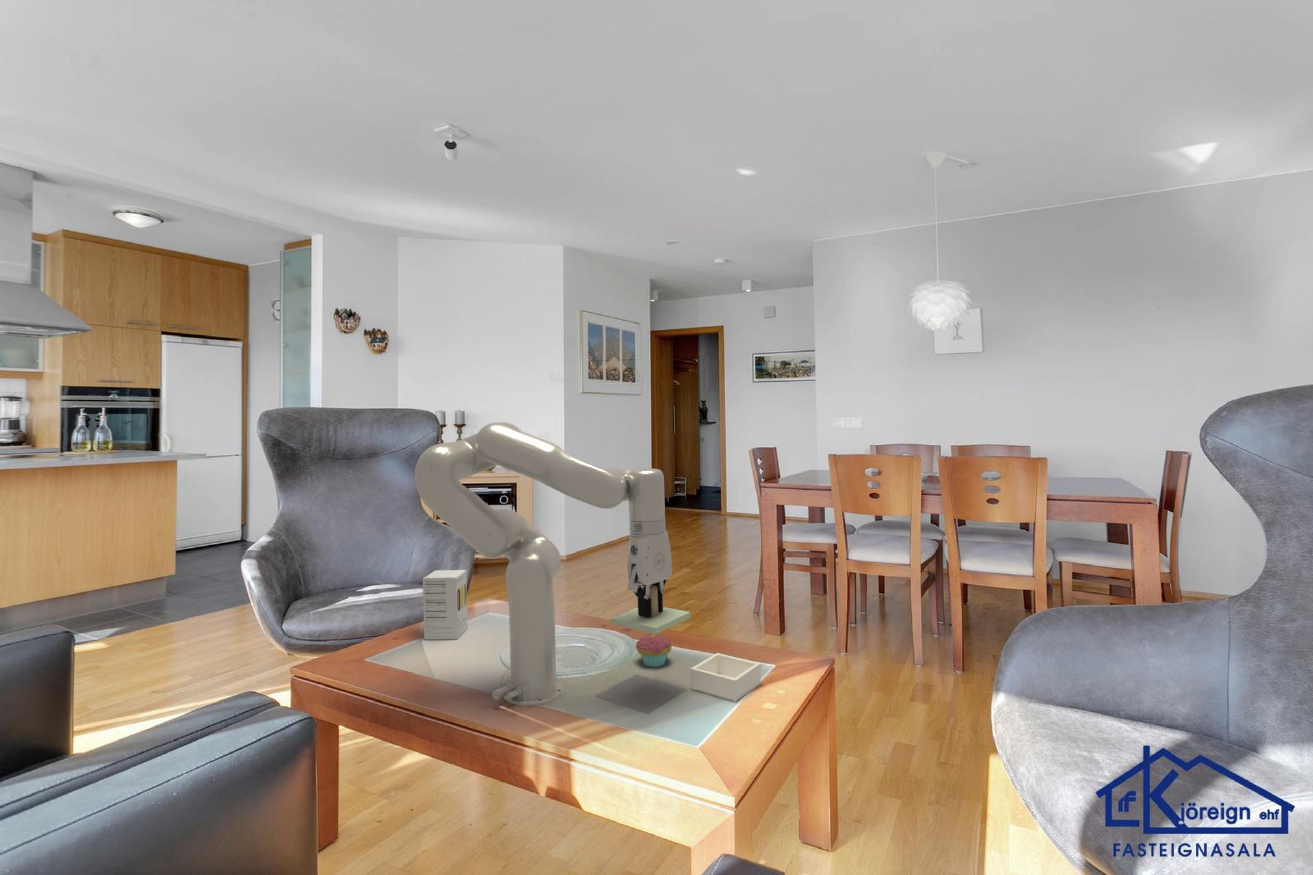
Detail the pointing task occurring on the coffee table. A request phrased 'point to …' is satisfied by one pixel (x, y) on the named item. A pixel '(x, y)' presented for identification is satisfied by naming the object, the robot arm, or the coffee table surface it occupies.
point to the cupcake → (653, 649)
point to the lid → (653, 623)
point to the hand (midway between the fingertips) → (650, 613)
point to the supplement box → (445, 604)
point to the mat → (641, 693)
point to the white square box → (725, 677)
